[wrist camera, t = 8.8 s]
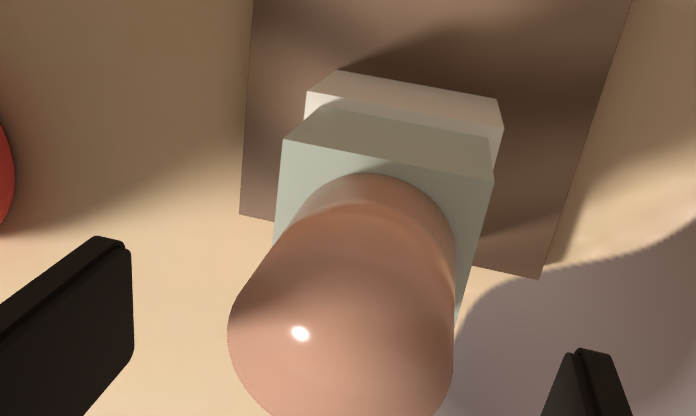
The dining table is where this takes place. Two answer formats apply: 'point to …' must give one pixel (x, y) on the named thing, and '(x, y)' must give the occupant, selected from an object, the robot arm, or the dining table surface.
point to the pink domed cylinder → (351, 306)
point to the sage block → (391, 170)
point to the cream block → (410, 104)
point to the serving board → (450, 74)
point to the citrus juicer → (5, 176)
